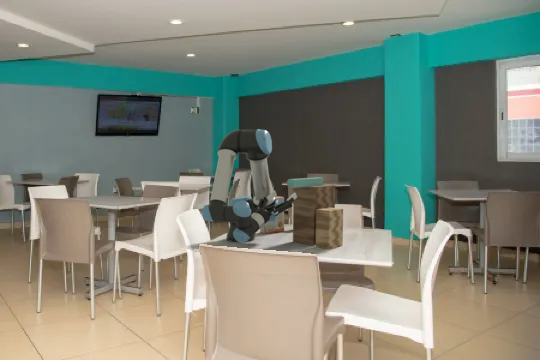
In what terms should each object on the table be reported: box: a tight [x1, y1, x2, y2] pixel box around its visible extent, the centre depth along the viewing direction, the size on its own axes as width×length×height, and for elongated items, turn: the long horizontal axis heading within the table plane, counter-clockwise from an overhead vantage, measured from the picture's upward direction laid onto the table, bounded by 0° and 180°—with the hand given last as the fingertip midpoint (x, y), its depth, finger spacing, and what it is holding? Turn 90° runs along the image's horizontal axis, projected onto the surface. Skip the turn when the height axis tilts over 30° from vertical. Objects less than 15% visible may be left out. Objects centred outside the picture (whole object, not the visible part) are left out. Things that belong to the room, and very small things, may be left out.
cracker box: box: [259, 196, 285, 235], centre depth 287 cm, size 14×6×21 cm, turn 123°
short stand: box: [315, 207, 344, 250], centre depth 246 cm, size 12×8×19 cm, turn 136°
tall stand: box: [292, 184, 336, 246], centre depth 259 cm, size 18×14×30 cm
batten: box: [287, 177, 324, 189], centre depth 253 cm, size 24×4×4 cm, turn 136°
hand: (285, 193), depth 241 cm, fingers open, 13 cm apart
